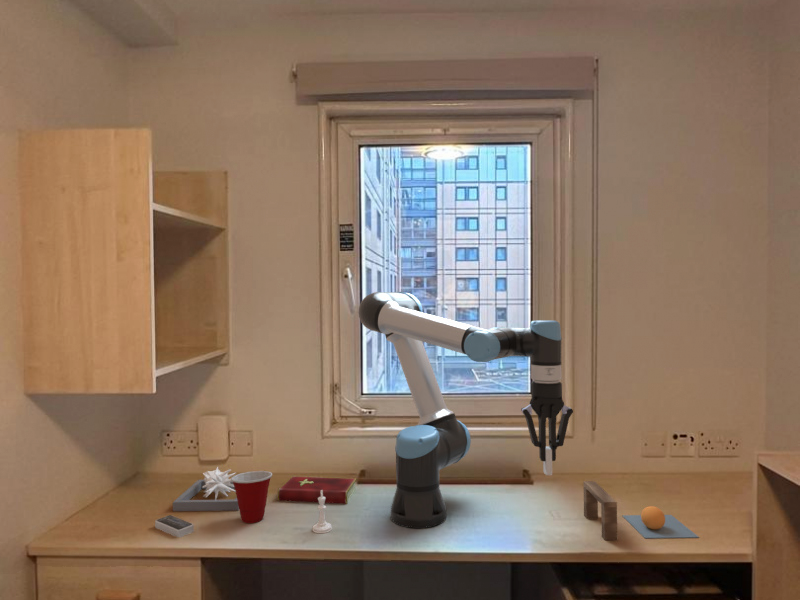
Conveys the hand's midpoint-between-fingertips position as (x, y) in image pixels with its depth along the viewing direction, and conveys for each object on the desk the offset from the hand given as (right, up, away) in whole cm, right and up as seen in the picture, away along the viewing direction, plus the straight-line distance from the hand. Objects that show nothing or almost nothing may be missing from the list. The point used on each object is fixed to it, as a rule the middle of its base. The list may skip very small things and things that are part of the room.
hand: (547, 473), depth 133 cm
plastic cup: (-78, -15, +8) cm, 80 cm away
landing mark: (+28, -14, 0) cm, 31 cm away
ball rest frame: (-93, -15, +24) cm, 97 cm away
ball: (+26, -11, -1) cm, 28 cm away
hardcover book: (-62, -16, +25) cm, 69 cm away
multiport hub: (-96, -16, +2) cm, 98 cm away
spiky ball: (-92, -16, +26) cm, 97 cm away
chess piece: (-58, -15, +1) cm, 60 cm away
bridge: (+13, -14, 0) cm, 19 cm away
